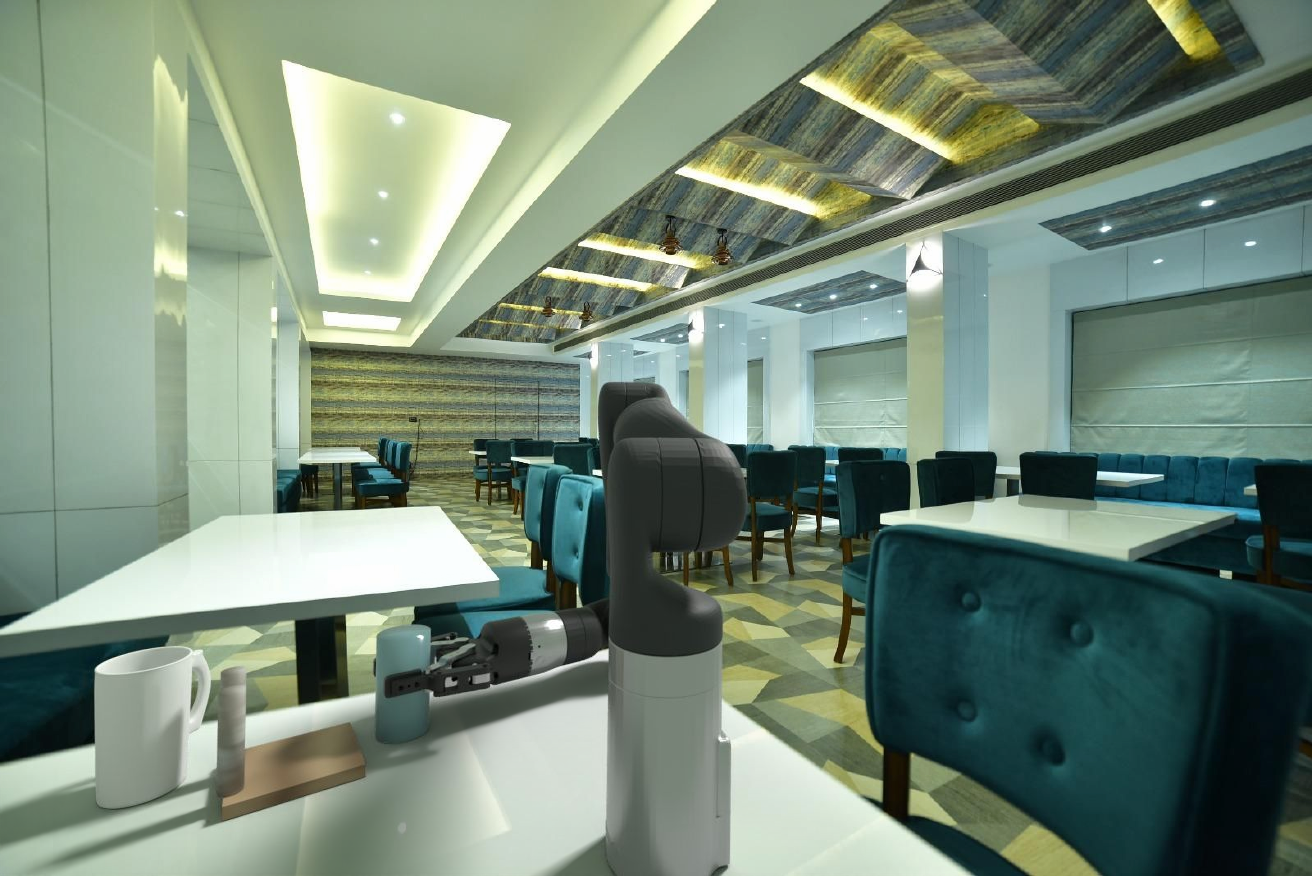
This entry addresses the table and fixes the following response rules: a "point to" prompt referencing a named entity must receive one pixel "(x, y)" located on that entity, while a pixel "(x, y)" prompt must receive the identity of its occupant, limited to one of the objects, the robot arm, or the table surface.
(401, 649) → the pale blue cylinder
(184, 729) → the mug
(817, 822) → the table surface
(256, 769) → the board
